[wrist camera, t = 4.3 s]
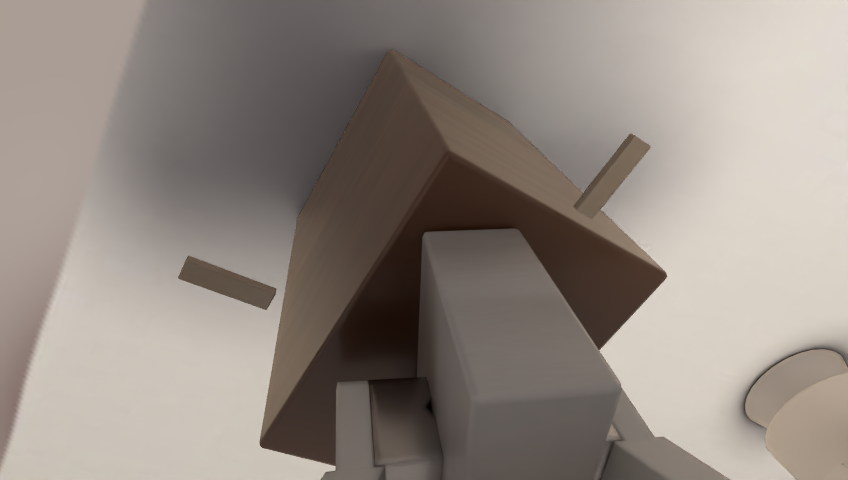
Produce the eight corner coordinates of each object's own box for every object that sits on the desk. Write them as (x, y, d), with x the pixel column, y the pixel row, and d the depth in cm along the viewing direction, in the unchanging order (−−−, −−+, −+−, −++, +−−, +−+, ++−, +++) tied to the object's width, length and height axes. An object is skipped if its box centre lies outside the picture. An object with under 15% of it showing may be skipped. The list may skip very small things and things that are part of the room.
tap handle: (421, 229, 8) (479, 420, 5) (519, 225, 8) (640, 405, 5) (412, 472, 11) (443, 693, 7) (483, 464, 11) (543, 675, 8)
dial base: (339, -52, 14) (338, -73, 6) (590, 119, 18) (825, 267, 9) (210, 224, 18) (86, 476, 9) (442, 318, 22) (510, 561, 13)
